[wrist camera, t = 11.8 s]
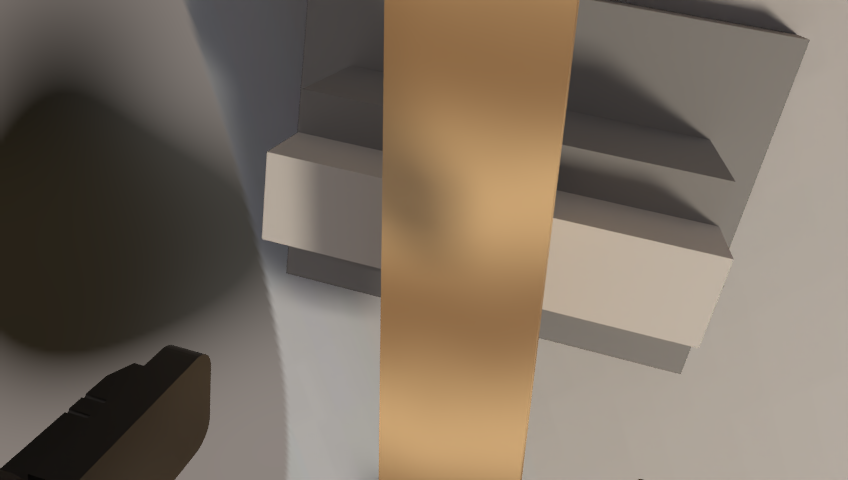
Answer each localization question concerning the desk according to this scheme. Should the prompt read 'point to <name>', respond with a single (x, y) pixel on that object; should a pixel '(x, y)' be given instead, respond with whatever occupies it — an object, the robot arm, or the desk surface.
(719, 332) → the desk surface
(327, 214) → the balance stand
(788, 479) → the desk surface
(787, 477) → the desk surface
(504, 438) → the oak bar
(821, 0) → the desk surface
